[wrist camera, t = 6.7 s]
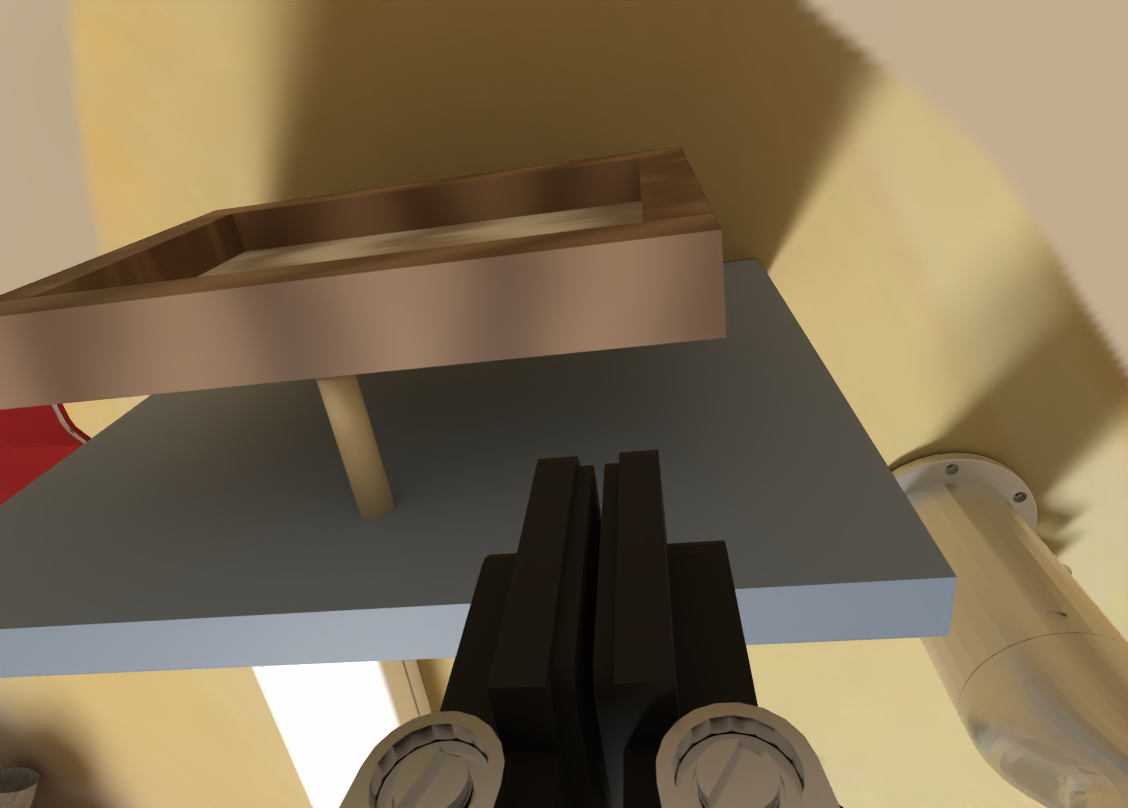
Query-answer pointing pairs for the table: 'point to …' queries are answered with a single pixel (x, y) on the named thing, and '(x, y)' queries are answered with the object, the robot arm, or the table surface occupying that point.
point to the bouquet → (17, 787)
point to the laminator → (339, 716)
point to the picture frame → (380, 284)
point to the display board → (454, 504)
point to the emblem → (33, 444)
